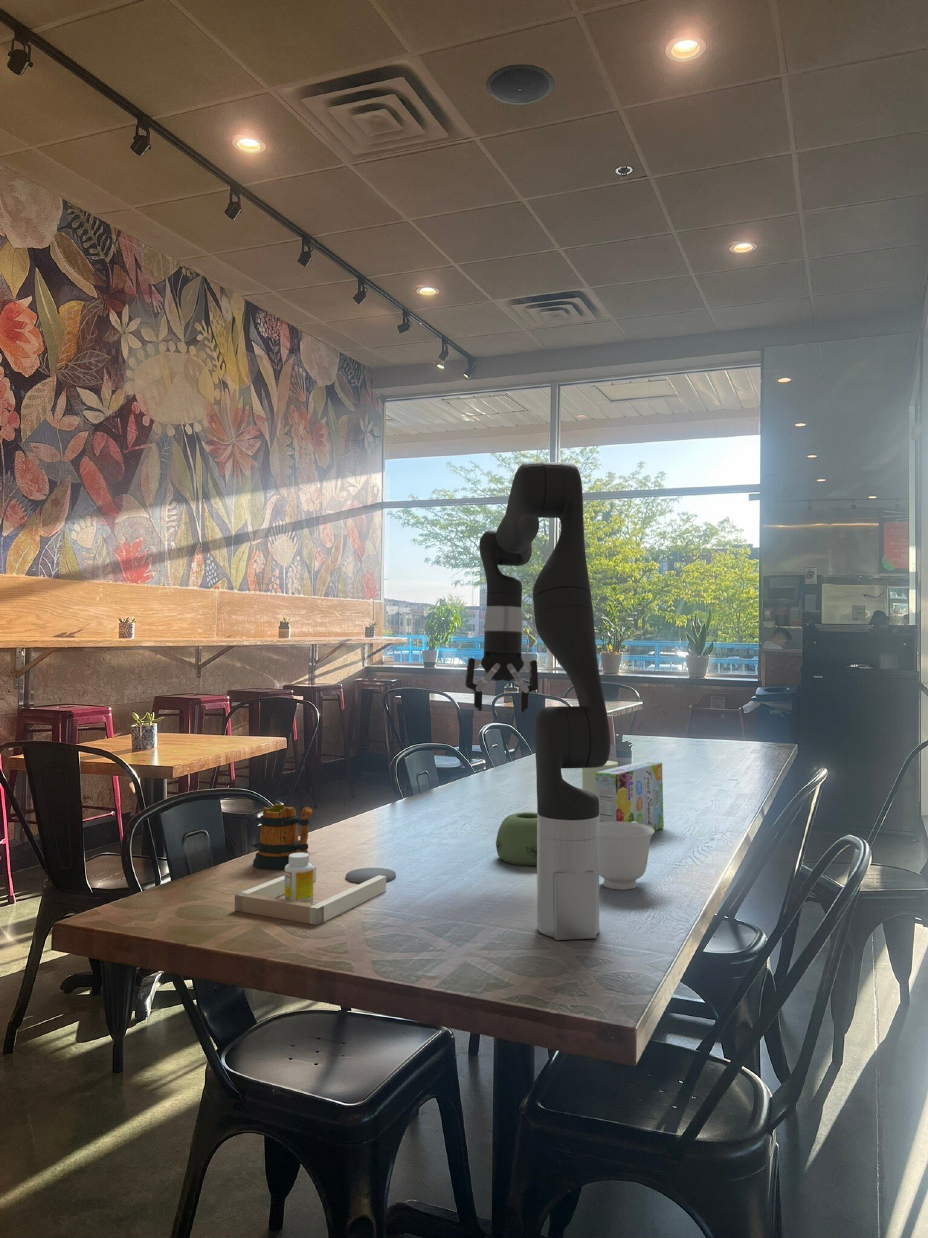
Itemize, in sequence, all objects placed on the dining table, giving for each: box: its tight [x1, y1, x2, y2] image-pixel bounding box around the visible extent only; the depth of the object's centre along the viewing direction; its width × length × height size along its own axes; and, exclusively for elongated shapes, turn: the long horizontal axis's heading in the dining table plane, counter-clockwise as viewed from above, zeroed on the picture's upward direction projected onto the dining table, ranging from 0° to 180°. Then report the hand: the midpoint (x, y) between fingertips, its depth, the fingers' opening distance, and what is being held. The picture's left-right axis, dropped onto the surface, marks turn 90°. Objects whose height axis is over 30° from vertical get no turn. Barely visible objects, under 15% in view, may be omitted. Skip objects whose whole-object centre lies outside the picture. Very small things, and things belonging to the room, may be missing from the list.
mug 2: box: [495, 811, 537, 866], centre depth 176 cm, size 16×13×9 cm
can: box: [581, 760, 619, 795], centre depth 227 cm, size 9×9×12 cm
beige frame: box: [234, 865, 387, 926], centre depth 148 cm, size 20×16×2 cm
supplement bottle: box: [284, 853, 314, 904], centre depth 144 cm, size 5×5×8 cm
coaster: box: [345, 867, 397, 884], centre depth 162 cm, size 9×9×1 cm
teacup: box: [599, 821, 656, 891], centre depth 158 cm, size 12×15×10 cm
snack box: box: [596, 760, 665, 832], centre depth 197 cm, size 21×6×15 cm, turn 141°
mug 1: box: [251, 803, 313, 871], centre depth 171 cm, size 13×10×12 cm
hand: (500, 711), depth 177 cm, fingers open, 8 cm apart
